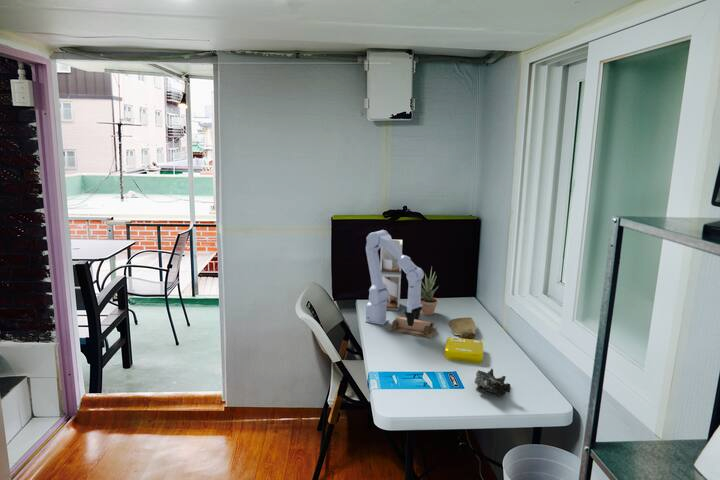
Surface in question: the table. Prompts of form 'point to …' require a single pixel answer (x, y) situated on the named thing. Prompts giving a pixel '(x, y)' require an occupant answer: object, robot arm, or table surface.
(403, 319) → the clay strip
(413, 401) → the table surface
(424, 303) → the potted plant
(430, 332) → the strip rack
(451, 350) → the element tile
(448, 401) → the table surface
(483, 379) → the mineral specimen
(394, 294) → the display case
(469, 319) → the stone tool
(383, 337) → the table surface
